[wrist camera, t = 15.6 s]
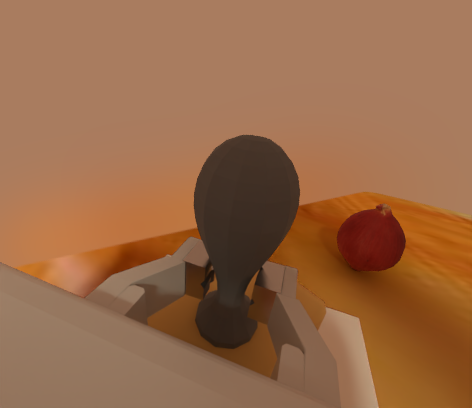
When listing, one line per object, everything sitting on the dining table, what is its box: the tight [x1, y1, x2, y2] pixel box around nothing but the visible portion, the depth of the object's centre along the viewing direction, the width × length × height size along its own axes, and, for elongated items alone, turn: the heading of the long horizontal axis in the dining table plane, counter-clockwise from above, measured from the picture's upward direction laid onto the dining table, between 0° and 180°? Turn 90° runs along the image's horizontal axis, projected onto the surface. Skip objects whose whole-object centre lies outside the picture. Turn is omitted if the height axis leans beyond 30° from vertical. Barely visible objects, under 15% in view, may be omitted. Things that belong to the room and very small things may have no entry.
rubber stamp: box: [147, 135, 326, 378], centre depth 9 cm, size 10×6×12 cm, turn 133°
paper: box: [165, 254, 379, 408], centre depth 13 cm, size 18×16×1 cm
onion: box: [337, 204, 406, 271], centre depth 22 cm, size 6×6×8 cm
